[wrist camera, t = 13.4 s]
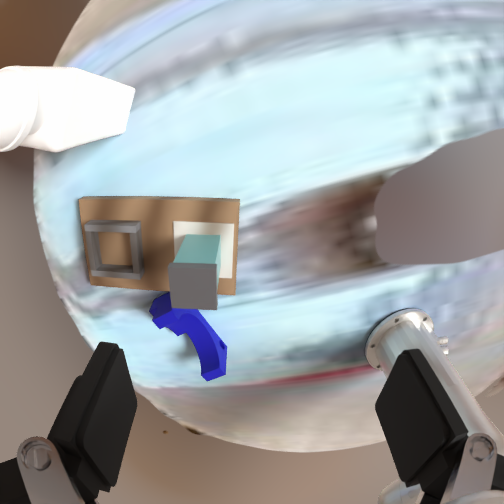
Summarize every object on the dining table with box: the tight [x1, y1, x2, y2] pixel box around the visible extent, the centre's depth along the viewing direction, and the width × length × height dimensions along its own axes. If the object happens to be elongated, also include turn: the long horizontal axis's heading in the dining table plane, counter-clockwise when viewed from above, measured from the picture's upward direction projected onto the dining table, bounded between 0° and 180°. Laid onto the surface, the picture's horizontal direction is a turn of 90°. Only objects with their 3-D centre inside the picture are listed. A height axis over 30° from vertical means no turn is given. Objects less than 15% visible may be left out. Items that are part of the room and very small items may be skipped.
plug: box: [168, 234, 221, 310], centre depth 32 cm, size 4×4×9 cm
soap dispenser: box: [0, 66, 135, 152], centre depth 21 cm, size 6×6×22 cm
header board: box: [79, 196, 240, 295], centre depth 36 cm, size 20×12×4 cm, turn 86°
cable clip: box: [149, 292, 227, 381], centre depth 40 cm, size 12×4×6 cm, turn 29°
